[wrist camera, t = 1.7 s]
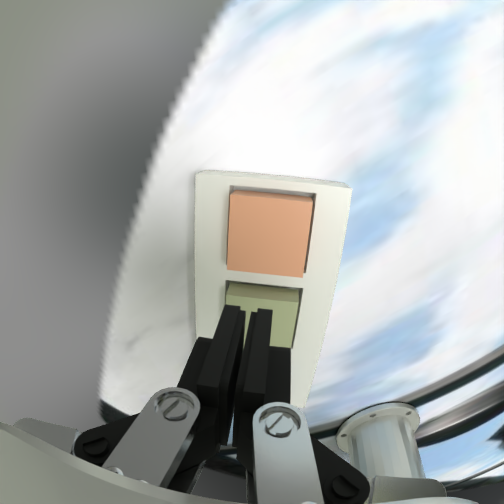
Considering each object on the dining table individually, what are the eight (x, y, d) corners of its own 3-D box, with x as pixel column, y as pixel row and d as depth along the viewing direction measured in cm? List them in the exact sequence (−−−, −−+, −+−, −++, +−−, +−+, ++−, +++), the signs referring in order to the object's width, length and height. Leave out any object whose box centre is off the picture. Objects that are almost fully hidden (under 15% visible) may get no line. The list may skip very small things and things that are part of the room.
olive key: (289, 342, 28) (289, 357, 26) (228, 336, 28) (224, 350, 26) (297, 289, 26) (298, 302, 24) (230, 282, 26) (225, 294, 24)
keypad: (304, 389, 33) (304, 407, 30) (205, 377, 34) (199, 395, 31) (344, 183, 25) (352, 188, 22) (205, 170, 25) (195, 173, 23)
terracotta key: (301, 266, 25) (302, 277, 23) (231, 258, 25) (226, 269, 23) (310, 196, 23) (312, 202, 21) (235, 189, 23) (230, 194, 21)
